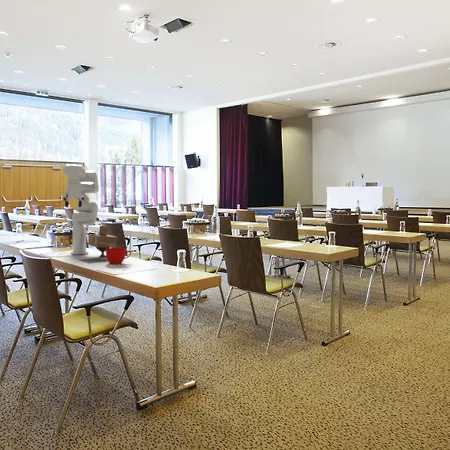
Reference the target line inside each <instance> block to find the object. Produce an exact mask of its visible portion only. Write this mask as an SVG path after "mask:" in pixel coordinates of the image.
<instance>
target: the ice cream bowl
mask: <svg viewBox="0 0 450 450" xmlns="http://www.w3.org/2000/svg"><path fill="white" fill-rule="evenodd" d="M95 248H96V250H97V251H99V252H100V253H101V254H100V255H98V258H105V257H106V254H105V252H106V249H108V248H111V247H95ZM106 258H107V257H106Z"/></svg>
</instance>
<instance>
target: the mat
mask: <svg viewBox="0 0 450 450" xmlns="http://www.w3.org/2000/svg"><path fill="white" fill-rule="evenodd" d="M78 261H79V262H83V263H87V264H96V263H106V262H107V263H109V262H108V260H107V258H106V259H105V258H103V257H98V258H94V257H93V258H83V259H78Z"/></svg>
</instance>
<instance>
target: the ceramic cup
mask: <svg viewBox="0 0 450 450" xmlns="http://www.w3.org/2000/svg"><path fill="white" fill-rule="evenodd" d="M128 252H129V254H128V256H126V255H127V254H126V253H128ZM105 256H106V260H108V262H107V263H109V264H111V265H118V264H120V265H121V264H122V263H123V262H124V261H125V259H128V258H130V256H132V251H131V250H126V248H122V247H121V248H120V247H110V248H108V249H106V251H105Z"/></svg>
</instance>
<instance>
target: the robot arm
mask: <svg viewBox="0 0 450 450" xmlns="http://www.w3.org/2000/svg"><path fill="white" fill-rule="evenodd" d="M62 170H63V174H64V175H65V176H66V177H67V184H66V186H65V192H64V193H62V194H61V197H62V199H63V201H64V205H65V208H69V200H70V199H74V200H75V199H77V203H76V209H75V212H73V213H72V215H71V219H72V220H71V221H72V248H71V249H72V251H70V254H71V255H88V254H89V251H87V228H86V227H85V226H87V225H88V226H89V225H93V226H94V225H95V224H96V222H97V217H98V212H99V211H98V210H99V206H98V204H97V203H96V202H92V201H90V198H89V197H88V195H86V194H97V193H98V192H99V189H100V187H99V179H98V175H97V172H96V171H94V170H86V169H85V167H84V166H83V165H81V164H65V165H64V167H63V169H62ZM84 225H85V226H84Z"/></svg>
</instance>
